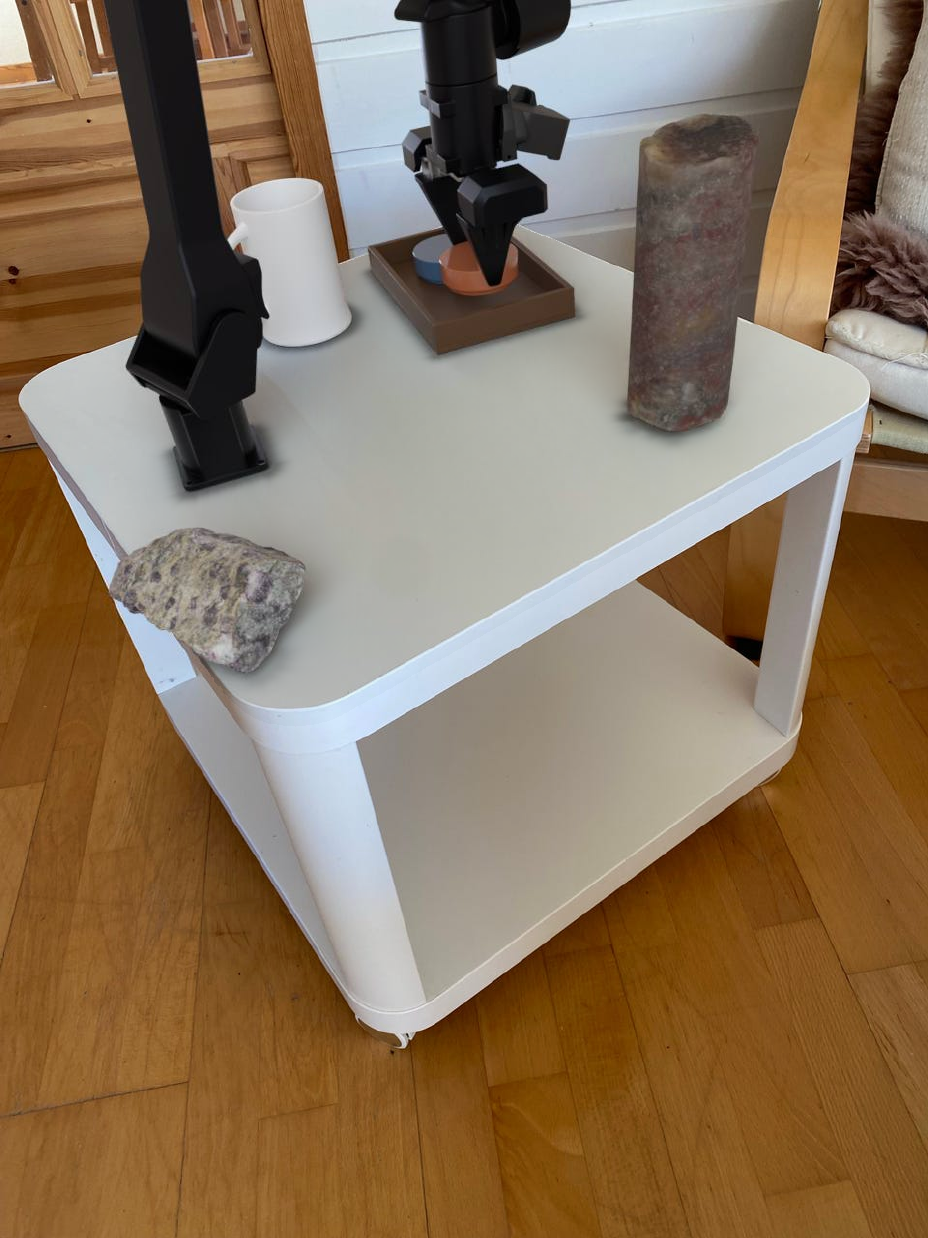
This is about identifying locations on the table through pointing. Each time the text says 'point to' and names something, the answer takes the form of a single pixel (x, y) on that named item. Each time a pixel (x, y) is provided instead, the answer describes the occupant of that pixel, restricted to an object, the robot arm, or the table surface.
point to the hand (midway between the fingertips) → (479, 270)
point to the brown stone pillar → (689, 267)
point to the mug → (292, 259)
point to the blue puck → (430, 258)
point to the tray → (470, 297)
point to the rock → (212, 593)
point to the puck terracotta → (473, 271)
